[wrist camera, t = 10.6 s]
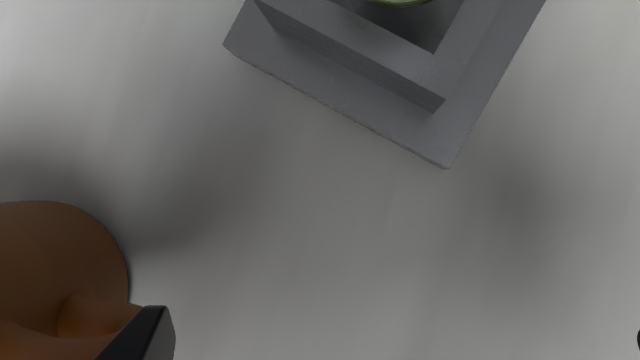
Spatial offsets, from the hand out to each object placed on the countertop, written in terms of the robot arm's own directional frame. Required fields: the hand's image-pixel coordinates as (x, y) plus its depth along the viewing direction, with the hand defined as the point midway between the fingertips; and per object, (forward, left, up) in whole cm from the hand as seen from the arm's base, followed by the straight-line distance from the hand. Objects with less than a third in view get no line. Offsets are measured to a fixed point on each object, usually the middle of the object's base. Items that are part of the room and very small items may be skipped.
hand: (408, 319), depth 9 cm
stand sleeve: (+5, -9, -11) cm, 15 cm away
